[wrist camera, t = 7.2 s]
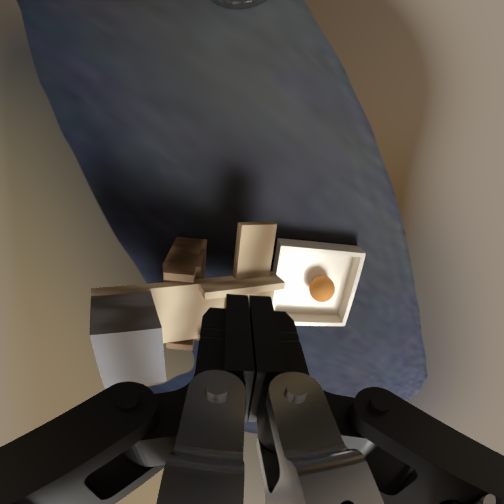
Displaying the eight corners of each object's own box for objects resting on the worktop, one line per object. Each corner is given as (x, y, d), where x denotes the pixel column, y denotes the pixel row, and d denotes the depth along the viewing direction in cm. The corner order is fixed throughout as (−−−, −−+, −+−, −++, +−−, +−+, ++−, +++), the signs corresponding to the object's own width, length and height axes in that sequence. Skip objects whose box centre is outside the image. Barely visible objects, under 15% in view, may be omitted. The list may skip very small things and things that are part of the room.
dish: (277, 238, 38) (280, 245, 36) (358, 245, 39) (365, 253, 37) (265, 313, 43) (267, 324, 40) (339, 315, 44) (344, 326, 41)
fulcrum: (176, 300, 41) (162, 347, 31) (176, 236, 37) (158, 272, 28) (203, 303, 41) (197, 351, 32) (207, 239, 38) (198, 275, 28)
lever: (101, 344, 28) (105, 391, 22) (84, 228, 23) (76, 260, 17) (264, 321, 37) (293, 355, 31) (280, 221, 32) (319, 244, 26)
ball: (310, 270, 40) (314, 282, 37) (334, 273, 40) (340, 284, 37) (305, 292, 41) (308, 305, 38) (328, 295, 41) (333, 307, 38)
